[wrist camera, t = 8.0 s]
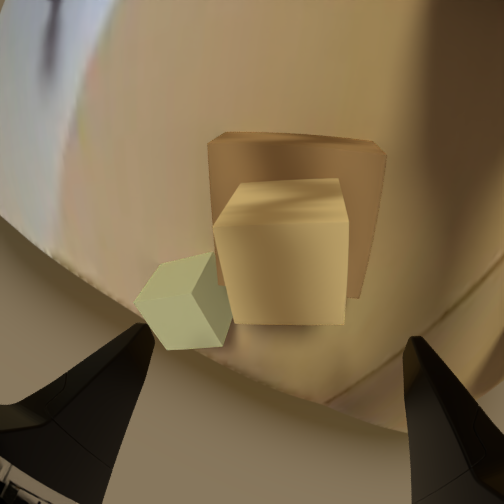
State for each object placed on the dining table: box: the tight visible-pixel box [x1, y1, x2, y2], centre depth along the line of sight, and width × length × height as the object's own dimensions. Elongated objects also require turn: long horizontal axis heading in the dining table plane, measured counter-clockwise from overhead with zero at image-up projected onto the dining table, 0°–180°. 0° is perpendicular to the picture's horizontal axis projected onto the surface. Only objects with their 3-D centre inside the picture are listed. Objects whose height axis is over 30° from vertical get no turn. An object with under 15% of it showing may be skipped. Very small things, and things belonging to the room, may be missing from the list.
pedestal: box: [207, 132, 387, 299], centre depth 18 cm, size 9×9×4 cm
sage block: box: [133, 252, 233, 350], centre depth 22 cm, size 5×5×5 cm
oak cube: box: [212, 178, 349, 325], centre depth 14 cm, size 5×5×5 cm
